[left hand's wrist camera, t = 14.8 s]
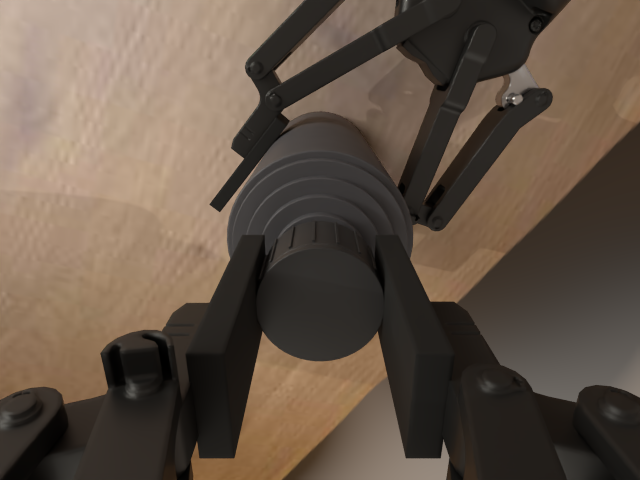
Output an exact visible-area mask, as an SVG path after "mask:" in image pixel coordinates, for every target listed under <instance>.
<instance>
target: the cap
mask: <svg viewBox="0 0 640 480" xmlns="http://www.w3.org/2000/svg"><path fill="white" fill-rule="evenodd" d="M258 281H260V282H259V286H258V289H257V293H256V308H257V319H258V322H259V325H260V327H261V328H262V330H263V332H264V333H265V335H266V336H267V338H268V339H269V340H270V341H271V342H272V343H273V344H274V345H275V346H277V347H278V348H279V349H281V350H282V351H284V352H286V353H288V354H290V355H292V356H294V357H297V358H300V359H304V360H310V361H331V360H336V359H340V358H343V357H346V356H349V355H351V354H353V353H355V352H356V351H358V350H360V349H361V348H362V347H364V346H365V345H366V344H367V343H368V342H369V341H370V340H371V339H372V338H373V337H374V335H375V334H376V333H377V331H378V329H379V327H380V325H381V323H382V320H383V312H384V292H383V288H382V284H381V281H380V277H379V274H378V270H377V266H376V263H375V260H374V256H373V253H372V249H371V246H370V245H369V246H368V245H367V244H366V242H365V241H364V240H363V239H362V238H361V237H360V236H359V235H358V234H357V232H356V231H353V230H351V229H349V228H347V227H345V226H343V225H340V224H338V223H337V222H335V223H334V222H327V221H315V220H313V222H307V223H303V224H300V225H298V226H292V228H291V229H289V230H288V231H286V232H285V233H284V234H282V235H281V236H280V237H279V238H278V239H277V238H276V239H275V242H274V244H273V245H272V247H271V249H270V250H269V253H268V255H265V258H264V262H263V265H262V268H261V272H260V275H259V278H258Z"/></svg>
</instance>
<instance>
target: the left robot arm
mask: <svg viewBox="0 0 640 480" xmlns="http://www.w3.org/2000/svg"><path fill="white" fill-rule="evenodd" d="M265 255H266V252H265V235H242V236H241V238H240V240H239V242H238V245H237V247H236V249H235V251H234V253H233V255H232V257H231V259H230V261H229V263H228V265H227V268H226V270H225V272H224V274H223V276H222V278H221V280H220V282H219V284H218V286H217V288H216V291H215V293H214V295H213V297H212V299H211V301H210V303H186V304H185V305H183V306H182V307H180V308H179V309H178V310H176V311H175V312H174V313H173V314H172V315H171V317H170V319H169V320H168V322H167V324H166V327H164V329H163V330H162V331H158V330H142V331H137V332H132V333H129V334H126V335H124V336H121V337H119V338H117V339H115V340H114V341H112V342H111V343H109V344H108V345H107V346H106V347H105V348H104V349H103V351H102V352H101V357H102V362H103V366H104V371H105V375H106V380H107V384H108V391H107V394H105V395H102V396H98V397H95V398H91V399H86V400H82V401H77V402H73V403H68V404H64V401H63V398H62V394H60V393H59V392H58V391H57V390H56V389H53V388H48V387H38V388H29V389H26V390H23V391H19V392H16V393H13V394H11V395H9V396H7V397H5V398H3V399H1V400H0V480H193V471H192V465H191V457H192V454H193V451H194V448H195V445H196V442H197V443H198V450H199V458H235V453H236V449H237V444H238V440H239V435H240V431H241V426H242V421H243V417H244V412H245V408H246V403H247V399H248V394H249V390H250V385H251V381H252V376H253V372H254V367H255V363H256V358H257V354H258V349H259V345H260V340H261V336H262V331H263V330H262V328H261V327H260V325H259V322H258V319H257V308H256V293H257V289H258V286H259V282H260V281H258V278H259V275H260V272H261V268H262V265H263V262H264V258H265ZM374 260H375V263H376V266H377V270H378V274H379V277H380V281H381V284H382V288H383V292H384V312H383V320H382V323H381V325H380V327H379V329H378V334H379V339H380V344H381V348H382V353H383V357H384V362H385V366H386V371H387V375H388V380H389V384H390V388H391V393H392V398H393V402H394V407H395V411H396V416H397V420H398V425H399V429H400V434H401V438H402V443H403V447H404V452H405V456H406V458H441V452H442V445H443V439H444V442H445V445H446V448H447V451H448V454H449V457H450V458H449V465H448V471H447V478H446V480H640V398H639V397H637V396H635V395H633V394H631V393H629V392H627V391H624V390H622V389H618V388H614V387H611V386H601V385H594V386H589V387H585V388H584V389H583V390H582V391H581V392H580V393H579V395H578V399H577V403H576V402H571V401H567V400H562V399H557V398H552V397H548V396H545V395H541V394H537V393H535V392H533V390H532V388H531V386H530V385H529V383H528V382H527V381H526V379H525V378H523V377H522V376H521V375H519V374H518V373H517V372H516V371H513V370H511V369H509V368H507V367H504V366H501V365H500V364H499V362H498V360H497V359H496V357H495V356H494V354H493V352H492V351H491V349H490V347H489V346H488V344H487V343H486V341H485V339H484V338H483V336H482V335H480V331H479V330H478V328H477V326H476V325H474V321H473V320H472V318H471V316H470V315H469V313H468V312H467V311H466V310H465V309H463V308H462V307H460V306H459V305H458V304H456V303H455V302H430V300H429V298H428V296H427V294H426V292H425V290H424V288H423V286H422V284H421V282H420V280H419V277H418V275H417V273H416V271H415V269H414V267H413V265H412V263H411V261H410V259H409V256H408V254H407V252H406V250H405V248H404V246H403V244H402V242H401V240H400V238H399V236H398V235H376V238H375V258H374Z"/></svg>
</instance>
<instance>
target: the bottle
mask: <svg viewBox="0 0 640 480" xmlns="http://www.w3.org/2000/svg"><path fill="white" fill-rule="evenodd" d="M313 220H315V221H327V222H334V223H335V222H337V223H338V224H340V225H343V226H345V227H347V228H349V229H351V230H353V231H356V232H357V234H358V235H359V236H360V237H361V238H362V239H363V240H364V241H365V242H366V244H367V245H368V246H369V245H370V246H371V249H372V253H373V256H374V258H375V238H376V235H398V236H399V238H400V240H401V242H402V244H403V246H404V248H405V250H406V252H407V254H408V256H409V259H410V257H411V252H412V247H413V227H412V220H411V216H410V212H409V209H408V207H407V204H406V202H405V200H404V198H403V196H402V194H401V193H400V191H399V189H398V188H397V186H396V185H395V183H394V182H393V180H392V179H391V177H390V176H389V174H388V173H387V171H386V170H385V168H384V167H383V165H382V164H381V162H380V161H379V160H378V158H377V157H376V155H375V154H374V152H373V151H372V149H371V148H370V146H369V145H368V143H367V142H366V140H365V139H364V137H363V136H362V134H361V133H360V131H359V130H358V129H357V128H356V127H355V126H354V125H353V124H352V123H351V122H349V121H348V120H347V119H345V118H343V117H341V116H339V115H336V114H333V113H329V112H312V113H307V114H304V115H301V116H299V117H297V118H295V119H293V120H292V121H290V122H289V123H288V125H287V126H286V128H285V129H284V130H283V132H282V133H281V134H280V135H279V137H278V138H277V139H276V141H275V142H274V143H273V144H272V146H271V147H270V148H269V149H268V151H267V152H266V154H265V155H264V157H263V158H262V160H261V161H260V163H259V164H258V166H257V168H256V169H255V171H254V172H253V174H252V175H251V177H250V178H249V180H248V181H247V183H246V184H245V186H244V187H243V189H242V190H241V192H240V193H239V195H238V196H237V198H236V200H235V203H234V205H233V207H232V210H231V213H230V217H229V222H228V228H227V244H228V252H229V256H230V259H231V257H232V255H233V253H234V251H235V249H236V247H237V245H238V242H239V240H240V238H241V236H242V235H265V252H266V255H268V253H269V250H270V249H271V247H272V245H273V244H274V242H275V239H276V238H277V239H278V238H279V237H280V236H281V235H282V234H284V233H285V232H286V231H288V230H289V229H291V228H292V226H298V225H300V224H303V223H307V222H313Z"/></svg>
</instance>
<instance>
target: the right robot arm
mask: <svg viewBox="0 0 640 480" xmlns="http://www.w3.org/2000/svg"><path fill="white" fill-rule="evenodd" d="M344 1H345V0H304V1H303V3H302V4H301V5H300V6H299V7H298V8H297V9H296V10H295V11H294V12H293V13H292V14H291V15H290V16H289V17H288V18H287V19H286V20H285V21H284V22H283V23H282V24H281V25H280V26H279V27H278V28H277V30H276V31H275V32H274V33H273V34H272V35H271V36H270V37H269V38H268V39H267V40H266V41H265V42H264V43H263V44H262V45H261V46H260V47H259V48H258V49H257V50H256V51H255V52H254V53H253V54H252V55H251V57H250V58H249V59H248V60H247V62H246V65H245V69H246V73H247V74H248V76H249V77H250V78H251V79H252V81H253V82H254V84H255V86H256V87H257V89H258V91H259V93H260V102H259V105H258V107H257V108H256V109H255V111H254V112H253V113H252V115H251V116H250V117H249V119H248V120H247V121H246V123H245V124H244V126H243V127H242V128H241V130H240V131H239V132H238V134H237V135H236V136H235V138H234V139H233V143H232V147H231V148H232V149H233V150H234V151H235V152H237V153H238V154H239V155H240V156H242V157H243V158H244V160H243V161H242V162H241V164H240V165H239V166H238V168H237V169H236V170H235V172H234V173H233V174H232V176H231V177H230V178H229V179H228V181H227V182H226V183H225V185H224V186H223V187H222V189H221V190H220V191H219V193H218V194H217V195H216V197H215V198H214V199H213V200H212V202H211V203H210V204H209V205H211V206H212V207H213V208H215V209H216V210H218V211H219V212H220V211H221V210H222V209H223V208H224V206H225V205H226V204H227V202H228V201H229V200H230V198H231V197H232V196H233V195H234V193H235V192H236V191H237V189H238V188H239V187H240V186H241V184H242V183H243V182H244V180H245V179H246V178H247V177H248V175H249V174H250V173H251V171H252V170H253V169H254V168H255V166H256V165H257V164H258V162H259V161H260V160H261V159H262V157H263V156H264V155H265V153H266V152H267V151H268V149H269V148H270V147H271V146H272V144H273V143H274V142H275V141H276V139H277V138H278V137H279V135H280V134H281V133H282V132H283V130H284V129H285V128H286V126H287V125H288V123H289V122H290V121H289V120H288V119H287V118H286V117H285V116H284V115H282V114H281V112H282V111H283V109H285V108H286V107H288V106H290V105H292V104H293V103H295V102H297V101H299V100H300V99H302V98H304V97H306V96H307V95H309V94H311V93H313V92H314V91H316V90H318V89H320V88H321V87H323V86H325V85H326V84H328V83H330V82H332V81H333V80H335V79H337V78H339V77H340V76H342V75H344V74H346V73H347V72H349V71H351V70H353V69H354V68H356V67H358V66H360V65H361V64H363V63H365V62H367V61H368V60H370V59H372V58H374V57H375V56H377V55H379V54H381V53H382V52H384V51H386V50H388V49H390V48H392V47H393V46H395V45H397V47H396V48H397V49H398V50H399V51H400V52H401V53H402V54H403V55H404V56H405V57H407V58H409V59H410V60H412V61H414V62H416V63H418V64H419V66H420V68H421V69H422V71H423V73H424V74H425V76H426V77H427V78H428V79H429V80H430V81H431V82H432V83H433V84H435V86H434V89H433V91H432V94H431V97H430V104H429V107H428V110H427V112H426V115H425V117H424V120H423V123H422V125H421V128H420V130H419V133H418V135H417V138H416V141H415V143H414V146H413V148H412V151H411V153H410V156H409V159H408V161H407V164H406V166H405V169H404V171H403V174H402V176H401V179H400V182H399V184H398V187H397V188H398V189H399V191H400V193H401V194H402V196H403V198H404V200H405V202H406V204H407V207H408V209H409V212H410V216H411V220H412V225H415V224H417V223H418V224H421V225H424V226H427V227H429V228H430V229H431V230H433V231H440V230H442V229H443V228H445V227H446V225H447V224H448V223H449V221H450V220H451V219H452V217H453V216H454V215H455V213H456V212H457V211H458V209H459V208H460V207H461V205H462V204H463V203H464V201H465V200H466V199H467V197H468V196H469V195H470V194H471V192H472V191H473V190H474V188H475V187H476V186H477V184H478V183H479V182H480V180H481V179H482V178H483V176H484V175H485V174H486V172H487V171H488V170H489V168H490V167H491V166H492V164H493V163H494V162H495V160H496V159H497V158H498V157H499V155H500V154H501V153H502V151H503V150H504V149H505V147H506V146H507V145H508V143H509V142H510V141H511V139H512V138H513V137H514V135H515V134H516V133H517V131H518V130H519V129H520V128H521V127H522V126H524V125H525V124H526V123H528V122H529V121H531V120H532V119H533V118H535V117H536V116H537V115H539V114H540V113H542V112H543V111H544V110H546V109H547V108H548V107H549V106H550V105H551V103H552V98H553V96H552V93H551V92H550V90H548V89H546V88H539V87H538V85H537V84H536V82H535V80H534V79H533V77H532V75H531V73H530V72H529V70H528V68H527V67H526V65H525V62H526V60H527V59H528V56H529V53H530V50H531V47H532V45H533V43H534V41H535V39H536V38H537V36H538V35H539V34H540V33H541V32H542V31H543V30H544V29H545V28H546V27H547V26H548V25H549V24H550V22H551V21H552V20H553V19H554V18H555V17H556V16H557V15H558V14H559V13H560V12H561V10H562V9H563V8H564V7H565V6H566V5H567V4H568V3H569V2H570V1H571V0H396V7H395V16H394V18H392V19H390V20H389V21H387V22H385V23H383V24H382V25H380V26H378V27H377V28H375V29H374V30H372V31H370V32H369V33H367V34H365V35H363V36H362V37H360V38H358V39H357V40H355V41H353V42H351V43H350V44H348V45H346V46H345V47H343V48H341V49H339V50H338V51H336V52H334V53H333V54H331V55H329V56H328V57H326V58H324V59H322V60H321V61H319V62H317V63H316V64H314V65H312V66H310V67H309V68H307V69H305V70H304V71H302V72H300V73H299V74H297V75H295V76H293V77H292V78H290V79H288V80H287V81H285V82H283V83H281V81H280V79H279V78H278V76H277V74H276V72H275V70H276V69H277V68H278V67H279V66H280V65H281V64H282V63H283V62H284V61H285V60H286V59H287V58H288V57H289V56H290V55H291V54H292V53H293V52H294V51H295V50H296V49H297V48H298V47H299V46H300V45H301V44H302V43H303V42H304V41H305V40H306V39H307V38H308V37H309V36H310V35H311V34H312V33H313V32H314V31H315V30H316V29H317V28H318V27H319V26H320V25H321V24H322V23H323V22H324V21H325V20H326V19H327V18H328V17H329V16H330V15H331V14H332V13H333V12H334V11H335V10H336V9H337V8H338V7H339V6H340V5H341V4H342V3H343V2H344ZM500 76H503V78H504V84H503V86H502V88H501V90H500V91H499V92H498V93H497V95H496V104H497V105H496V106H495V107H494V108H493V109H492V110H491V111H490V112H489V113H488V114H487V115H486V116H485V117H484V119H483V120H482V121H481V123H480V124H479V125H478V127H477V128H476V130H475V131H474V132H473V134H472V135H471V137H470V138H469V139H468V141H467V142H466V143H465V145H464V146H463V148H462V149H461V150H460V152H459V153H458V155H457V156H456V157H455V159H454V160H453V162H452V163H451V164H450V166H449V167H448V168H447V170H446V171H445V173H444V174H443V175H442V177H441V178H440V180H439V181H438V182H437V184H436V185H435V186H434V188H433V189H432V191H431V192H430V193H429V195H428V196H427V198H426V199H425V197H426V194H427V192H428V190H429V187H430V185H431V182H432V180H433V178H434V175H435V173H436V171H437V168H438V166H439V163H440V161H441V159H442V156H443V154H444V151H445V149H446V147H447V144H448V142H449V139H450V137H451V135H452V132H453V130H454V128H455V125H456V123H457V120H458V118H459V116H460V114H461V113H462V112H463V111H464V109H465V108H466V106H467V104H468V102H469V99H470V97H471V95H472V92H473V90H474V87H475V85H476V83H477V82H481V81H485V80H489V79H493V78H496V77H500ZM424 199H425V200H424Z"/></svg>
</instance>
